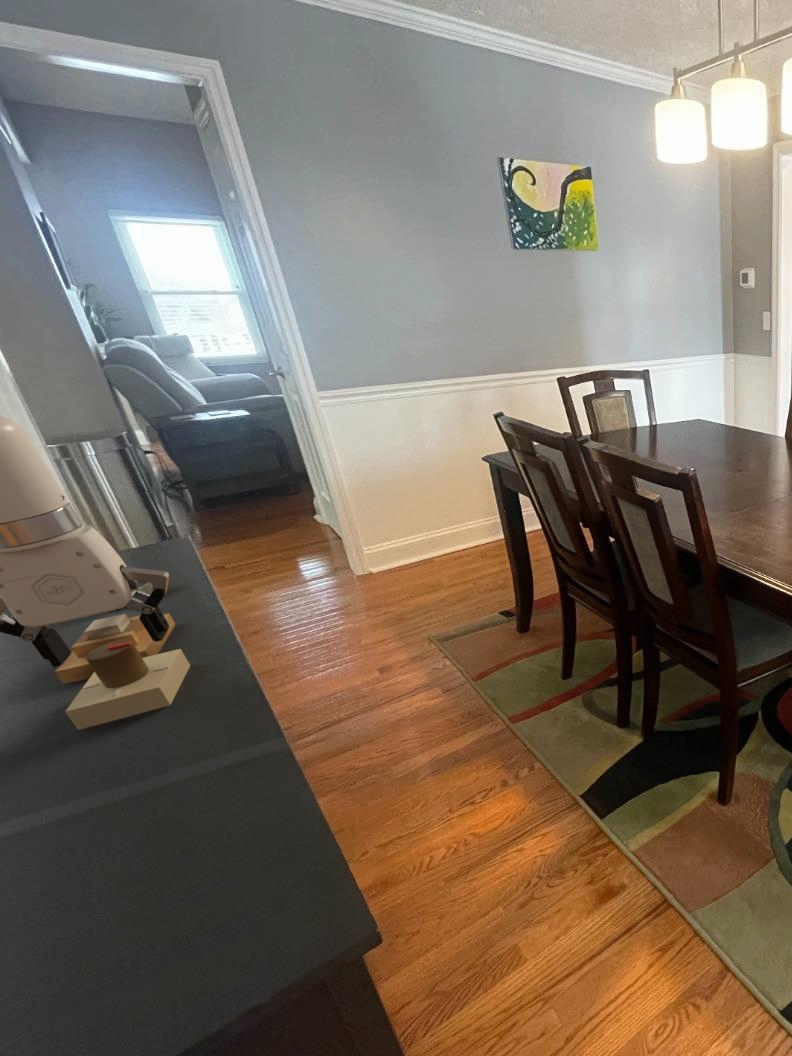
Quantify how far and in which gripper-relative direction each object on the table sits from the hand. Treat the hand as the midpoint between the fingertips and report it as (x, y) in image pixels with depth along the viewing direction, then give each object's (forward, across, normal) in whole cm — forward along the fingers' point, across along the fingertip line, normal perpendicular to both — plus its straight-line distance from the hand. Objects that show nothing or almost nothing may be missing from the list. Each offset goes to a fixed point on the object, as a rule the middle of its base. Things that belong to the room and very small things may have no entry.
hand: (113, 648), depth 77 cm
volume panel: (+7, -1, 0) cm, 8 cm away
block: (+7, -6, +15) cm, 18 cm away
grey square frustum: (+4, -6, +15) cm, 17 cm away
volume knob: (+4, -1, 0) cm, 4 cm away
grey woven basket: (+8, -11, +36) cm, 38 cm away
